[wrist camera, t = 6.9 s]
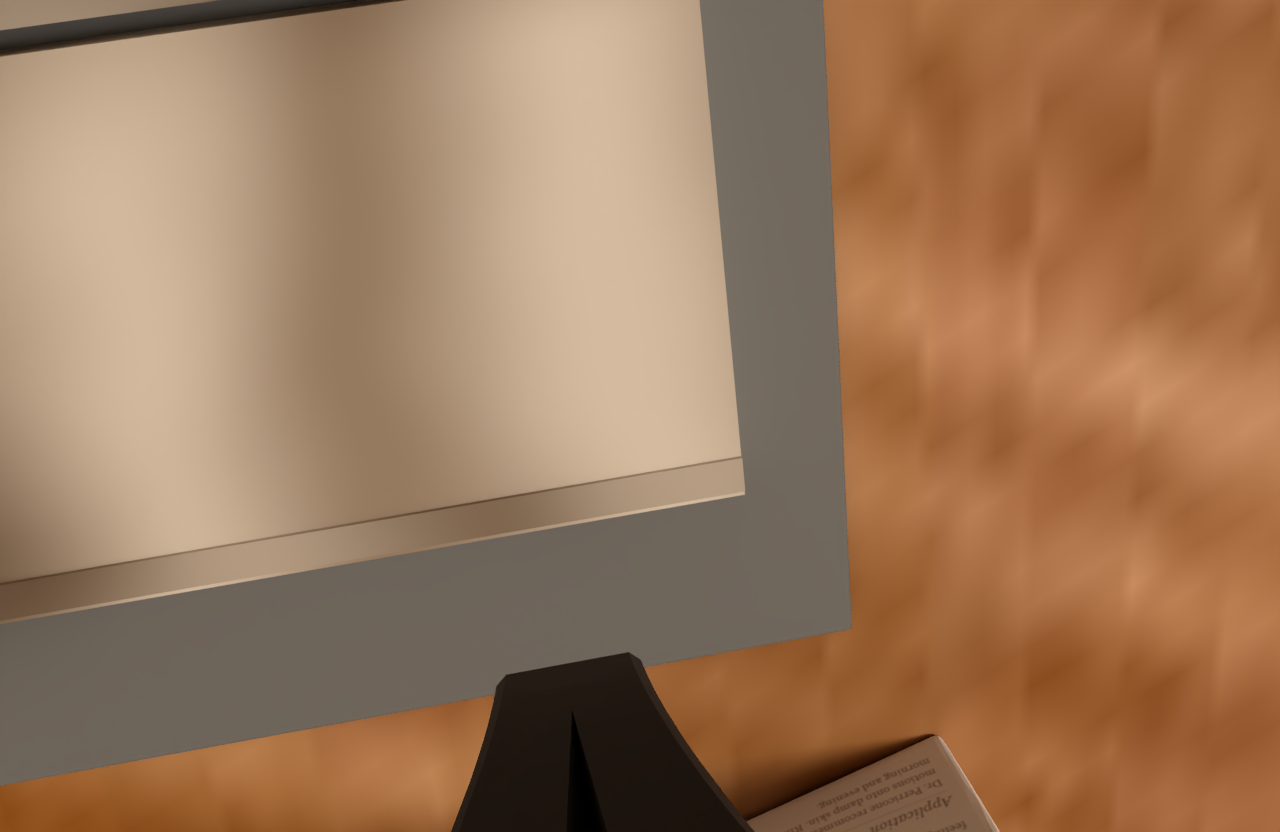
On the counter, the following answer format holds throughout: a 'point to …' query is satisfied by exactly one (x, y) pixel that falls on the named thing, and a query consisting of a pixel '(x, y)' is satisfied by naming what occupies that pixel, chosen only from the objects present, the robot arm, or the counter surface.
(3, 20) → the laid plank
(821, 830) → the skincare box
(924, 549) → the counter surface
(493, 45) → the loose plank
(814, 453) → the underlay mat
